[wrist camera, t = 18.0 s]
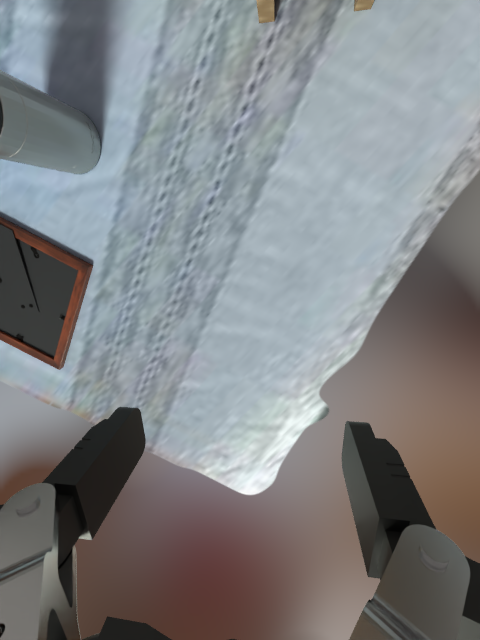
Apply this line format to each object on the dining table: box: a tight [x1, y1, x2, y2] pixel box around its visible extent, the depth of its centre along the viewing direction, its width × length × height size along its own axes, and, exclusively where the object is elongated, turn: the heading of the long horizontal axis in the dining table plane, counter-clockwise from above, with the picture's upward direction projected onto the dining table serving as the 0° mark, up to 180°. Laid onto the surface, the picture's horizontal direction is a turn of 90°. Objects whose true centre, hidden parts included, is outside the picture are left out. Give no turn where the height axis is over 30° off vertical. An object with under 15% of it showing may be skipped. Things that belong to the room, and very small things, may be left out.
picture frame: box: [0, 217, 93, 370], centre depth 57 cm, size 20×2×25 cm
